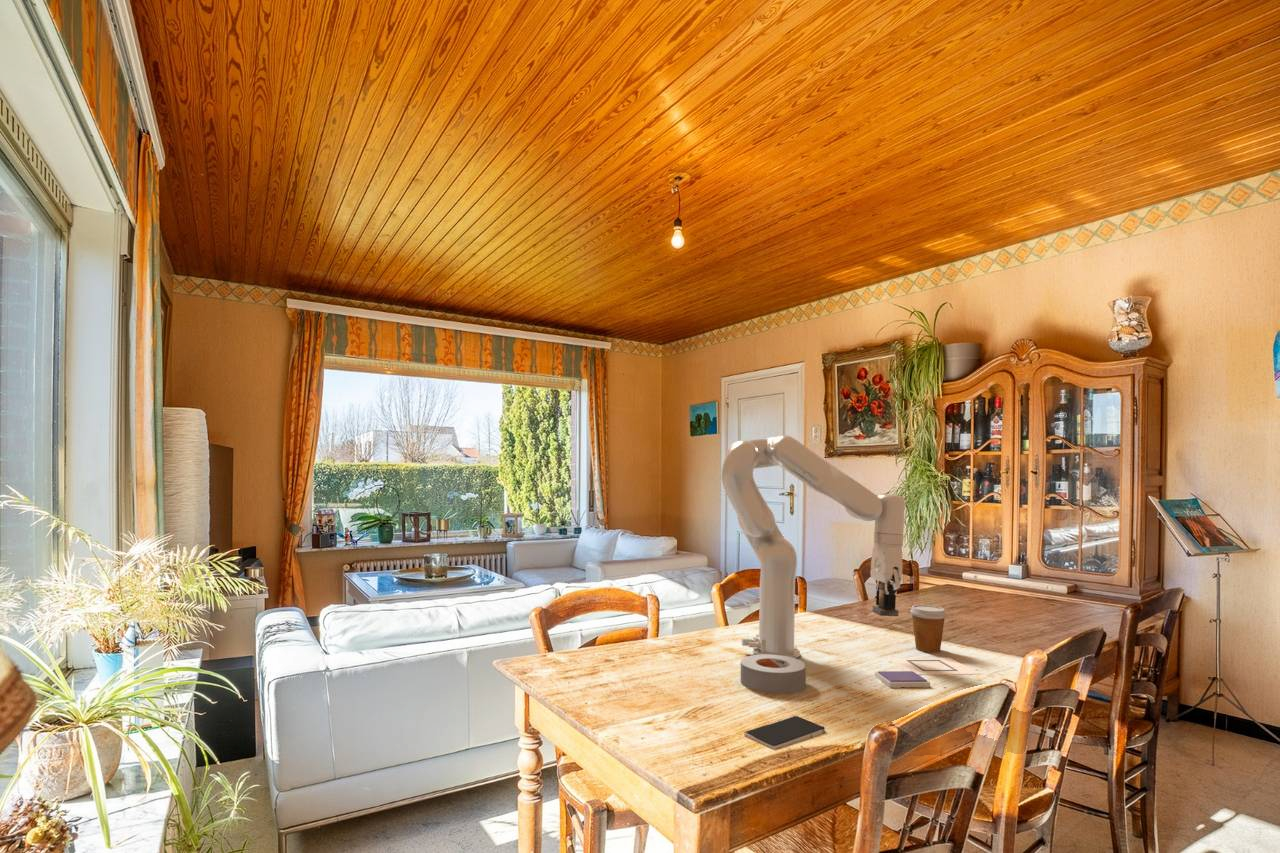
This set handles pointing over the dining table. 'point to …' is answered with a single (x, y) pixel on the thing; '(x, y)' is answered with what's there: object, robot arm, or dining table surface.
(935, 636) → the disposable coffee cup
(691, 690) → the dining table surface
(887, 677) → the ink pad
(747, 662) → the tape roll
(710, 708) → the dining table surface
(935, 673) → the sheet
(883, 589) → the stamp
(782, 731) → the smartphone
